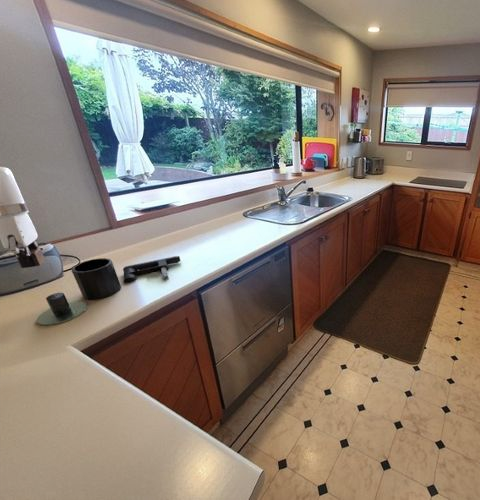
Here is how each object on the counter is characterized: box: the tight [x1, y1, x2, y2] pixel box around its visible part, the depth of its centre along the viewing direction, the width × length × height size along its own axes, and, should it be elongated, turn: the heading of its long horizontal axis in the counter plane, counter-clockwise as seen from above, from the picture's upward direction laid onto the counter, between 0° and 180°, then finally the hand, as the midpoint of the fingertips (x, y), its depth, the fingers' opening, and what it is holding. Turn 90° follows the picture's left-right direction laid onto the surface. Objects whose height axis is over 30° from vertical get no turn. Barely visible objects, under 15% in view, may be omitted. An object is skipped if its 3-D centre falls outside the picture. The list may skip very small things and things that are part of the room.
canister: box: [70, 257, 122, 301], centre depth 98 cm, size 10×10×12 cm
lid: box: [36, 292, 89, 327], centre depth 87 cm, size 12×12×7 cm
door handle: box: [122, 255, 181, 284], centre depth 114 cm, size 3×20×16 cm
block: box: [15, 248, 46, 269], centre depth 91 cm, size 4×4×4 cm
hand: (33, 263), depth 92 cm, fingers closed on block, 4 cm apart
